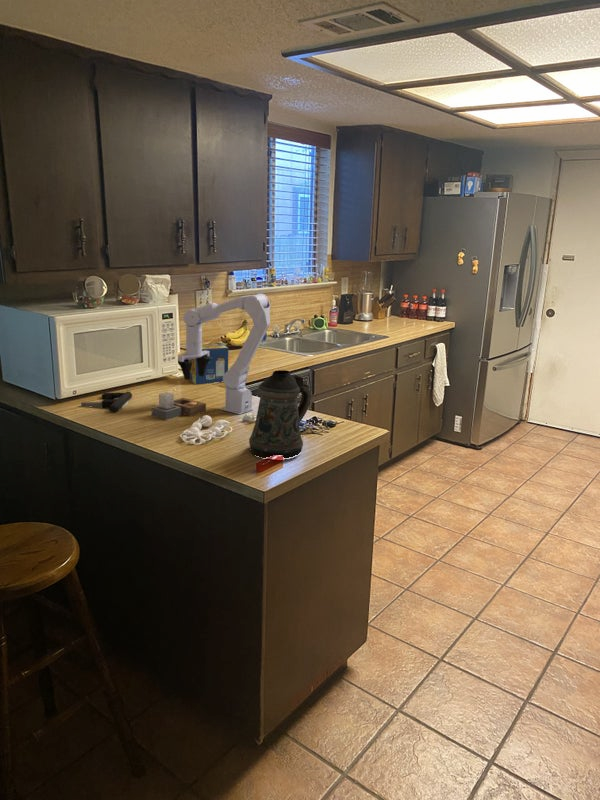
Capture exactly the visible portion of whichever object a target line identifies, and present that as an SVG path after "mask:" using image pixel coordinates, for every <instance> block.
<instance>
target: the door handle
mask: <svg viewBox="0 0 600 800" xmlns="http://www.w3.org/2000/svg"><path fill="white" fill-rule="evenodd" d="M102 398H103V399H102ZM133 398H134V397H133V394H132V392H131V391H126V392H104V393H102V394H101V399H102V401H82V402H81V403H80V406H92V407H91V408H102V409H108V408H109V409H108V410H109V412H110V413H117V412H118V411H119V410H123V408H124V407H125V406H126V405H128V404H129V400H130V399H133Z"/></svg>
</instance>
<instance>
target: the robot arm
mask: <svg viewBox="0 0 600 800" xmlns="http://www.w3.org/2000/svg"><path fill="white" fill-rule="evenodd" d="M269 300H270V299H269V298H268V297H267V295H266V294H264V293H262V292H261V293H256V294H250V295H243V296H239V297H235V298H233V299H230V300H228V301H224V302H222V303H219V304H218V303H216V302H212V301H208V302H206V304H204V305H202V306H201V305H198V306H195V308H194V309H188V310H187V311H185V312H184V313H183V316H182V320H183V321H184V323H185V326H186V327H185V336H186V337H185V338H186V339H185V341H186V342H185V343H186V344H185V345H186V346H185V348H186V350H185V351H184V353H183V354H181V355H178V356H177V363H178V365H179V367H180V369H181V371H182V374H183V375H182V376H183V379H185V380H187V381H190V370H191V366H192V362H189V361H188V360H191V359H195V358H196V360H197V364H198V374H199V376H204V373H205V370H206V366H207V364H208V362H209V361H210V357H207V356H209V351H206V350H205V351H202V344H203V323H206V322H209V321H212V320H216V319H219V318H220V316H221V314H222V313H225V312H229V311H231V310H235V309H239V310H241V311H245V312H246V313H247V314H248V316H249V317H250V318H251V320H252V323H253V325H252V327H251V330H249V331H250V332H249V334H248V335H247V338H246V340H245V341H244V344H243V345H242V347H241V350H240V351H239V353H238V355H237V358H236V359H235V361H234V363H233V364H231V366H230V367H229V368H228V371H227V372H226V373H225V374H224V376H223V382H222V383H223V384H224V385H225V402H224V403H225V406H223V407H220V409H219V410H221V411H226V412H229V413H234V414H237V415H241V414H245V413H247V412H251V411H253V410H254V409H253V408H252V405H253V400H252V399H253V394H252V391H251V389H248V388H247V387H246V381H247V380H248V377H249V374H248V373H249V371H250V364H251V363H252V360H253V358H254V357H255V355H256V352H257V351H258V349H259V348H260V345H261V343H262V341H263V339H264V337H265V335H266V333H267V331H268V330H269V328H270V325H271V305H272V304H271V303H270V301H269Z"/></svg>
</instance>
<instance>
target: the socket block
mask: <svg viewBox="0 0 600 800" xmlns="http://www.w3.org/2000/svg"><path fill="white" fill-rule="evenodd" d="M189 402H196V403H197V405H195V406H190V405H189ZM174 406H178V407H181V415H184V416H187V415H188V417H192V416H193V417H194V416H196V415H199V413H200V414H202V412H203V413H206V412H207V403H205V402H201V401H196V400H194V399H190V398H186V397H181V398H177V399H174Z"/></svg>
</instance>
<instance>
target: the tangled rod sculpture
mask: <svg viewBox="0 0 600 800" xmlns="http://www.w3.org/2000/svg"><path fill="white" fill-rule="evenodd" d="M212 422H213V419H212V417H211V416H210V415H203V416H201V417H198V420H196V421H194V422H193V423H192V425H191V426H189V427H188V428H187V429H185V430H184V431H183V430H182V433H181V434H179V437H180V438H181V440H182V441H183V442H185V443H188V444H190V445H191V444H193V445H198V446H200V445H204V444H205V443H206V442H209V441H211V440H212V438H214V439H222V438H225V436H226V435H227V434H230V433H232V432H233V427H232V426H230V425H231V422H230V421H228V420H225V419H219V420H217V421H216V422H215V424H213V423H212ZM212 424H213V425H212ZM211 425H212V426H211ZM202 426H203V427H209V426H211V427H210V428H209V429H208V428H207V429H206V430H205V429H204V430H202ZM225 428H230V430H229V431H227V430H226V429H225ZM221 434H223V435H222V436H220V435H221ZM204 438H206V440H205V439H204ZM188 439H190V440H188ZM197 440H199V443H198V442H196V441H197ZM203 443H204V444H203Z"/></svg>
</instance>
